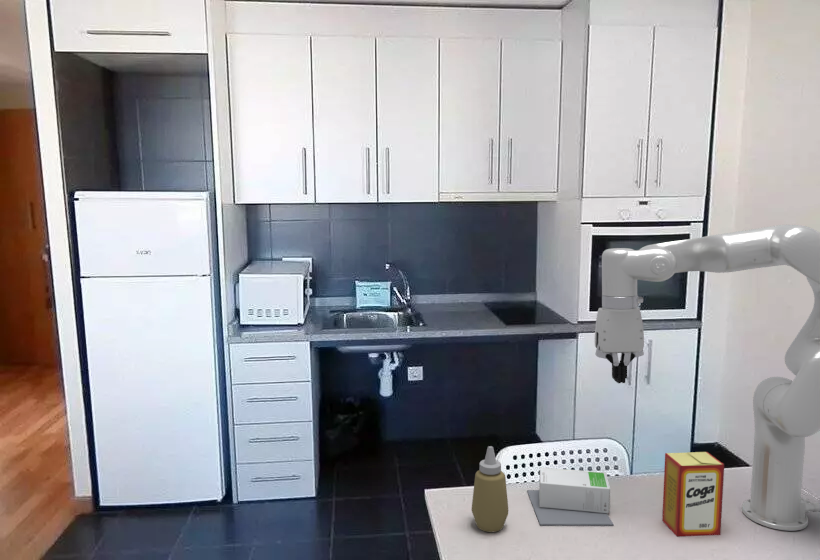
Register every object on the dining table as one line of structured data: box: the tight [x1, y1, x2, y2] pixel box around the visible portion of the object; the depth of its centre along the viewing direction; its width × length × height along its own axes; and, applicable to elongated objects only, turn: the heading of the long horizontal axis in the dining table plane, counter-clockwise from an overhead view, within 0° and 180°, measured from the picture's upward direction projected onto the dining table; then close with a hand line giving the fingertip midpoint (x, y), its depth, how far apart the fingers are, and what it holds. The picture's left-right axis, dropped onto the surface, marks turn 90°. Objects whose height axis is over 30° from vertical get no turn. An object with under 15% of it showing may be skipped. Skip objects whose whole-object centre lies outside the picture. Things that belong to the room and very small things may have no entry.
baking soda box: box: [661, 451, 725, 538], centre depth 128 cm, size 10×6×16 cm
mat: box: [526, 489, 615, 527], centre depth 138 cm, size 16×16×1 cm
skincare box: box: [538, 466, 611, 515], centre depth 139 cm, size 8×7×16 cm
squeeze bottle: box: [471, 445, 509, 533], centre depth 129 cm, size 8×8×18 cm
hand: (619, 381), depth 137 cm, fingers closed
